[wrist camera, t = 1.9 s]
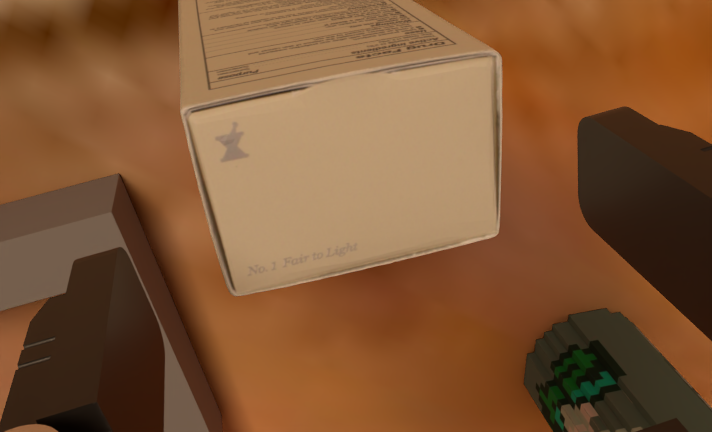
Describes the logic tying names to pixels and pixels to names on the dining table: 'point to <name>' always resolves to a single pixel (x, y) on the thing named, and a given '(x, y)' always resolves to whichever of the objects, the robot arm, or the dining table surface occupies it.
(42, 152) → the dining table surface
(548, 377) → the can
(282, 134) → the skincare box
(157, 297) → the socket block
